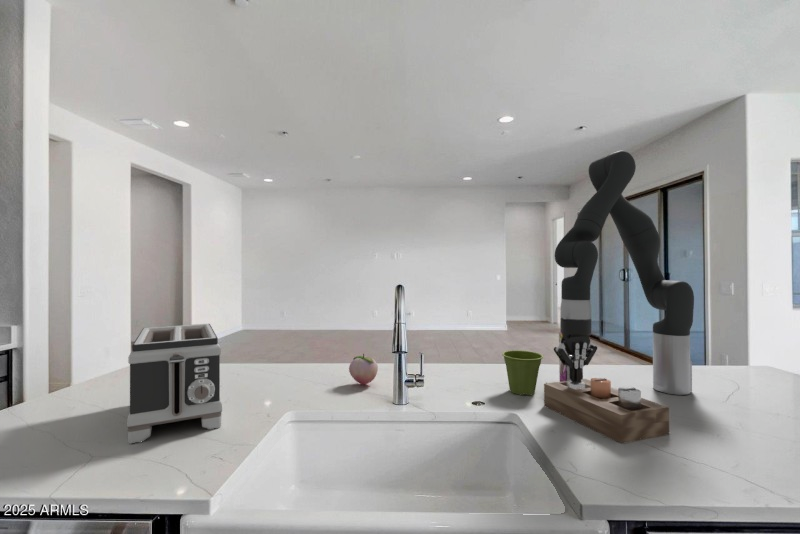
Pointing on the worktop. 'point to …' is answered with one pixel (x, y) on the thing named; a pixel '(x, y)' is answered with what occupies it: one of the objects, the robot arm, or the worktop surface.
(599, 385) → the terracotta knob
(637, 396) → the metal knob
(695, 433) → the worktop surface
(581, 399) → the console
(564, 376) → the candy bar box
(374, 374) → the decorative fruit
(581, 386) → the metal knob
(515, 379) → the plant pot
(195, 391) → the toaster
